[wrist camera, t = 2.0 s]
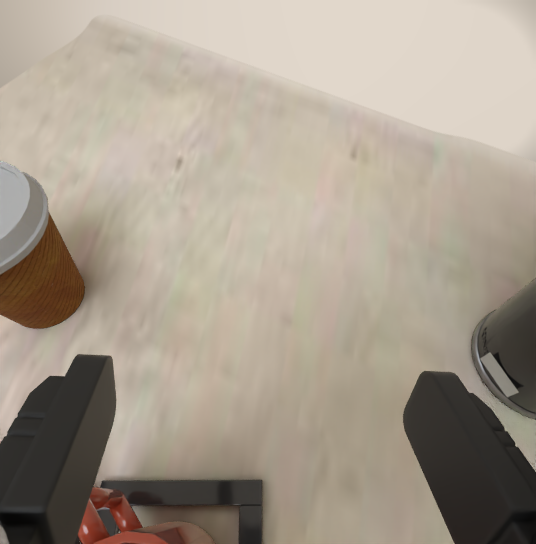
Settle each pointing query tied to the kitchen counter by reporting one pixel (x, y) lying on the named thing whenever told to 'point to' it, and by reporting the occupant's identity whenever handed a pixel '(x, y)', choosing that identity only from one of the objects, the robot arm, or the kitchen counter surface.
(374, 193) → the kitchen counter surface
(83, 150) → the kitchen counter surface
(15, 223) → the disposable coffee cup
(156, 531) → the red mug
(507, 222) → the kitchen counter surface
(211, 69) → the kitchen counter surface
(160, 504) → the hollow square frame
